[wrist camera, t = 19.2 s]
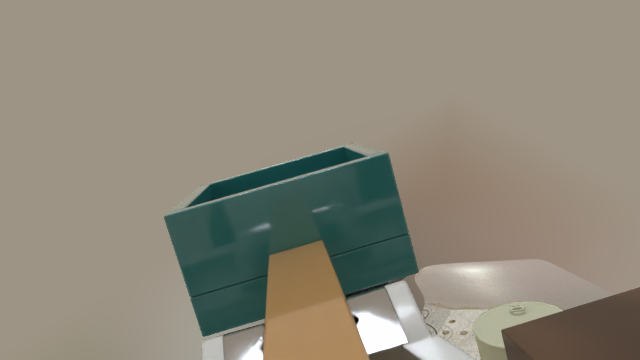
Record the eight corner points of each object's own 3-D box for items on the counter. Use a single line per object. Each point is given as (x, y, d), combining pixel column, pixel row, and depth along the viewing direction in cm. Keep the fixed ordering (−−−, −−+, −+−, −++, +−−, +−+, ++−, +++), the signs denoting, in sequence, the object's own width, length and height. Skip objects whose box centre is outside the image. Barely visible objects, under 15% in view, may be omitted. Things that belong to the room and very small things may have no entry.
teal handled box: (28, 844, 5) (-143, 470, 4) (226, 268, 25) (200, 185, 24) (728, 600, 5) (662, 226, 5) (374, 225, 25) (352, 142, 25)
